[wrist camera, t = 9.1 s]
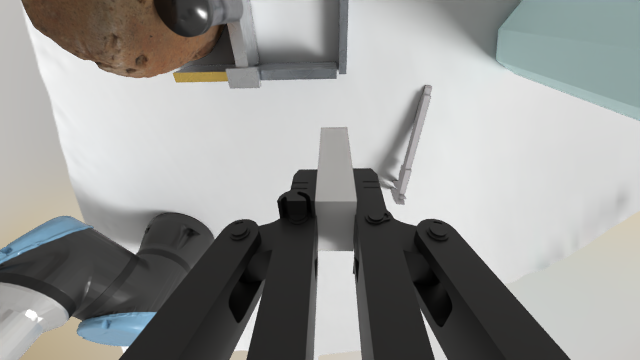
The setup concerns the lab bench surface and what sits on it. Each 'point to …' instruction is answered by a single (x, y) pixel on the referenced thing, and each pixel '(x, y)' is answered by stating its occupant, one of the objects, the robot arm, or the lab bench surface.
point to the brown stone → (118, 35)
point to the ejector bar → (215, 9)
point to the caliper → (411, 148)
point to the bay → (278, 64)
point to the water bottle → (577, 49)
